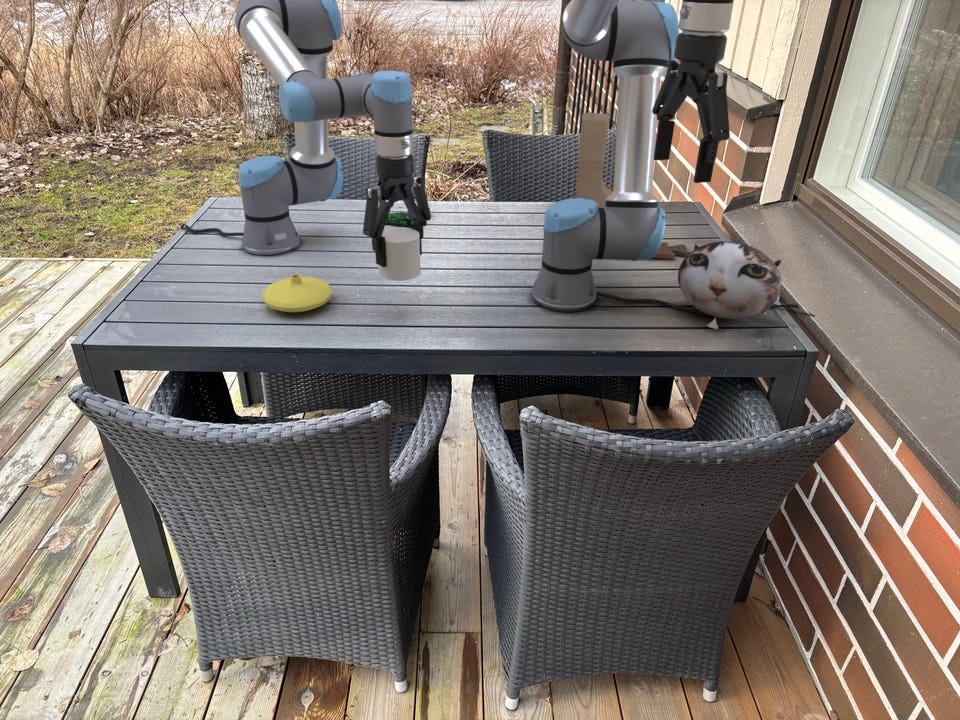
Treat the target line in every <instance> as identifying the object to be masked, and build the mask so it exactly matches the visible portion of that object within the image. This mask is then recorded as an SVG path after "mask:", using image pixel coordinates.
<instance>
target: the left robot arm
mask: <svg viewBox="0 0 960 720" xmlns="http://www.w3.org/2000/svg"><path fill="white" fill-rule="evenodd" d="M234 18H235V21H234V22H235V23H234V24H235V28H236V31H237V34H238V36H239V38H240V40H241V41H242V42H243V44H244V46H246V48H248V49H250V51H253V52H255V54H256V55H257V57H259V59H260V61H261V62H262V64H263V65H264V67H265V68H266V69H267V71H268V73H270V75H271V76H272V78H273V80H274V81H275V82H276V84H277V86H278V102H279V107H280V110H281V112H282V115H283V118H284V119H285V120H286V121H287V122H289V123H293V124H294V126H293V127H294V141H295V146H294V147H292V148H291V150H290V151H289V157H290V159H289V160H283V158H282V157H281V156H279V155H262V156H258V157H253V158H251V159H248V160H245V161H244V162H243V163H241V165H240V166H239V167H238V170H237V174H238V186H239V190H240V196H241V201H242V208H243V212H244V213H243V215H244V219H245V220H244V226H243V228H244V229H243V232H239V231H237V232H224V231H223V230H222V229H220V228H217V227H208V228H201V229H195V228H192V227H190V226H189V225H188V224H186V223H183V224H181V225H180V227H179V228H180V229H181V230H183V229H186V230H187V231H189V232H190V233H193V234H202V233H208V232H217V233H219V234H220V235H221V236H223V237H241V246H242V249H243V251H244V252H246V253H248V254H252V255H255V256H256V255H257V256H275V255H281V254H282V255H283V254H285V253H289V252H291V251H293V250H296V249H297V248H298V247H299V246H300V244H301V241H300V235H299V233H298V231H297V229H296V227H295V225H294V223H293V220H292V218H291V216H290V206H296V205H304V204H309V203H316V202H325V201H327V200H333V199H336V198H337V197H338V196H339V195H340V193H341V192H342V189H343V184H344V171H343V166H342V162H341V160H340V158H339V157H338V156H337V155H335V154H336V153H335V151H334V150H333V149H332V148H331V147H330V143H329V140H330V137H329V120H334V119H335V120H337V119H345V118H354V117H355V118H356V117H363V116H365V117H366V116H369V117H371V118H373V126H374V129H373V131H374V149H375V154H376V155H377V156H376V157H375V166H376V174H377V177H378V181H377V184H376V185H375V186H372V187H371V186H367V187H365V196H366V203H365V211H364V217H363V227H362V234H363V235H364V236H366V237H369V238H371V249H372V251H373V252H374V253H375V264H376V265H378V266H379V265H380V266H382V267H387V264H386V246H385V237H383V236H382V233H383V230H384V229H385V227H386V224H387V223H386V221H387V218H388V215H389V213H391V209H392V208H394V205H395V203H397V202H398V201H403V203H404V206H405V208H406V210H407V212H408V211H409V213H410V215H411V217H412V219H413V221H414V222H415V224H414V223H413V224H411V227H410V228H411V229H414V230H416V231H418V232H419V238H420V256H422V255H423V243H422V241H423V240H422V239H424V236H425V235H424V227H427V224H428V222H429V221H431V220H432V214H431V209H430V210H429V208H430V207H429V206H430V205H429V201H428V197H427V193H426V178H425V177H423V176H421V175H418V174H414V173H415V163H414V161H415V159H414V156H413V155H412V154H413V153H414V137H413V136H414V133H413V131H414V130H413V90H412V81H411V76H410V75H409V74H408V73H407V72H405V71H398V70H381V71H376V72H374V73H371V72H357V73H355V74H353V75H352V76H345V77H331V78H328V57H329V55H330V54H331V53H332V52H333V51H334V41H335V42H336V41H338V40H340V38H341V37H342V33H343V24H342V17H341V12H340V9H339V4H338V3H337V0H240V2H239V4H238V5H237V8H236V12H235V17H234ZM412 188H413V192H412ZM413 193H414V194H413ZM185 225H186V226H185ZM184 226H185V227H184ZM183 227H184V228H183ZM182 228H183V229H182Z"/></svg>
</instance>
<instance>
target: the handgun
mask: <svg viewBox="0 0 960 720" xmlns="http://www.w3.org/2000/svg"><path fill="white" fill-rule="evenodd" d="M429 210H430V211H431V209H430V207H429ZM413 223H414V224H415V222H414V221H413V219H412V217H411V215H410V213H409V211H408V210H407V212H403V211H400V212H399V211H397V212H392V213H391V212H389V215H388V218H387V221H386V224H390V225H396V226H400V227H406V228H411V224H413Z"/></svg>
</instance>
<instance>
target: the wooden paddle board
mask: <svg viewBox="0 0 960 720" xmlns="http://www.w3.org/2000/svg"><path fill="white" fill-rule="evenodd" d="M687 255H688V249H687V247H686V245H685V244H677V245H671V246H669V243H668V242H665V241H662V243H661V245H660V248H659V250H658V252H657V253H656V255H655V256H654V257H653V258H652V259H675V258H676V256H681V257H686V256H687Z"/></svg>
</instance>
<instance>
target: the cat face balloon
mask: <svg viewBox="0 0 960 720" xmlns="http://www.w3.org/2000/svg"><path fill="white" fill-rule="evenodd" d="M781 263H782V259H779V260H776V261H773V259H771V258H770V257H769V256H768V255H767V254H765V253H764V252H763V251H761V250H759V249H758V248H756V247H753V246H751V245H749V244H745V243H743V242H737V241H727V240H726V241H725V240H724V241H714V242H710V243H709V242H708V243H705V244H703V245H701V246H698V244H696V243H695V244H694V246H693V250H692V251H690V252H689V253H687V256H684V258H683V259H682V262H681V263H680V265H679V269H678V272H677V282H678V286H679V289H680V291H681V293H682V295H683V296H684V298H685V300H686V301H687V302H689V303H690V304H691V306H693V307H694V308H695V309H699V310H700V311H702V312H704V313H706V314H705V315H708V316H712V317H714V319H713V320H712V321H711V322H709V323H708V324H706V325H705V326H706V327H708V328H710V329H715V330H720V329H719V326H718V324H717V318H719V319H722V320H723V319H724V320H745V319H749V318H753V317H757V316H758V315H761V314H763V313H764V312H766V311H768V310H769V309H770V308H772V307H771V306H772V305H773V304H774V303H777V300H778V298H779V297H780V294H781V291H782V285H783V283H782V276H781V272H780V271H779V268H778V267H779V266H780V265H781Z"/></svg>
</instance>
